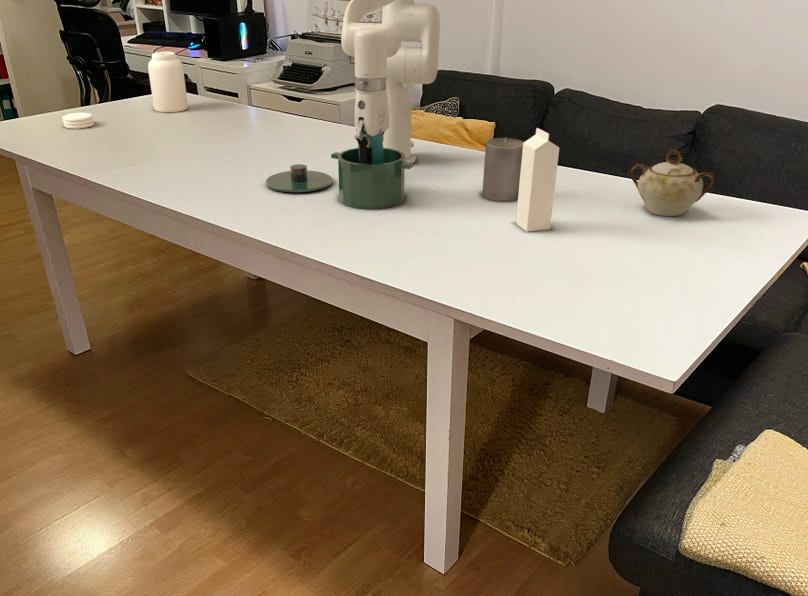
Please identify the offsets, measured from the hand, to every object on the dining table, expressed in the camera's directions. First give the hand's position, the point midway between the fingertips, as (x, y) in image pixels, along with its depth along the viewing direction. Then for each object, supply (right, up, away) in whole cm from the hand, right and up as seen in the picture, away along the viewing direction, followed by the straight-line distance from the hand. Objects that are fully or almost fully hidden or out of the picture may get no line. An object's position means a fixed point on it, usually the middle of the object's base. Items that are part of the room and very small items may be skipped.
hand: (371, 159), depth 187 cm
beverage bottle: (+1, -6, +5) cm, 8 cm away
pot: (0, -9, +5) cm, 10 cm away
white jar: (-77, +44, +95) cm, 131 cm away
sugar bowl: (+72, -14, -3) cm, 74 cm away
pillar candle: (+34, -8, +7) cm, 35 cm away
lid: (-20, -2, +15) cm, 25 cm away
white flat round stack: (-103, +31, +73) cm, 130 cm away
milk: (+38, -19, -12) cm, 44 cm away
